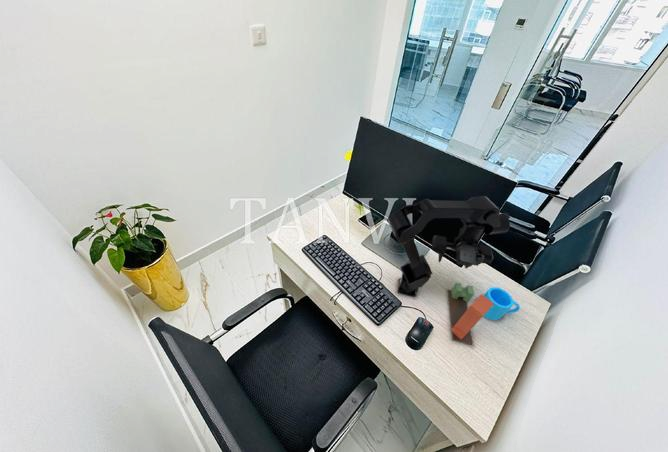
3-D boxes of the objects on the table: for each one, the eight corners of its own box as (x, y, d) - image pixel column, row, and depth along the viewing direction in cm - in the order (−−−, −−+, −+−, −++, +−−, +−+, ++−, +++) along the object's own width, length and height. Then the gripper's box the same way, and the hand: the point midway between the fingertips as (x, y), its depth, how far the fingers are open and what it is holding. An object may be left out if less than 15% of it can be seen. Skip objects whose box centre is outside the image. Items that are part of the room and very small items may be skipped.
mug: (479, 316, 90) (490, 304, 84) (475, 297, 95) (485, 284, 90) (515, 325, 88) (529, 313, 82) (509, 305, 94) (521, 292, 88)
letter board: (452, 339, 83) (453, 338, 82) (447, 290, 97) (448, 289, 96) (471, 345, 82) (472, 344, 81) (464, 294, 96) (465, 293, 96)
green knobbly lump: (468, 301, 93) (474, 294, 90) (452, 297, 94) (457, 290, 90) (467, 293, 95) (472, 286, 92) (451, 290, 96) (456, 282, 93)
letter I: (450, 330, 84) (470, 305, 74) (461, 319, 88) (481, 294, 77) (461, 340, 82) (483, 315, 71) (471, 328, 85) (494, 303, 74)
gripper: (441, 244, 76) (425, 275, 87) (507, 258, 73) (483, 289, 84) (439, 221, 84) (425, 252, 95) (499, 233, 81) (478, 263, 92)
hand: (452, 264), depth 91 cm, fingers open, 9 cm apart
